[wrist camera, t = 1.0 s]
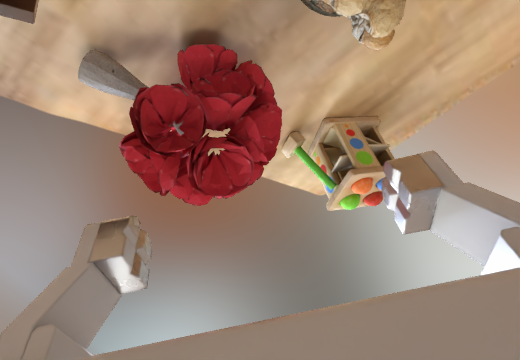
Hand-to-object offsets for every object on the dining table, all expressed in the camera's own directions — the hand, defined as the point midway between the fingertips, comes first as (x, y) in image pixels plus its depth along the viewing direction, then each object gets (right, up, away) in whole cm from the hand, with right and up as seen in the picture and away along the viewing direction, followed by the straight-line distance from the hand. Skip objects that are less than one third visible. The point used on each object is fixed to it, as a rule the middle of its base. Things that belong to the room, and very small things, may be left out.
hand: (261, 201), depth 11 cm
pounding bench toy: (+16, +11, +71) cm, 73 cm away
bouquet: (-13, +19, +46) cm, 51 cm away
